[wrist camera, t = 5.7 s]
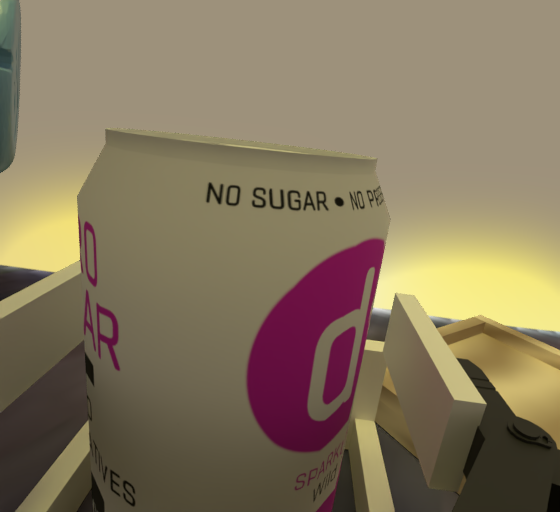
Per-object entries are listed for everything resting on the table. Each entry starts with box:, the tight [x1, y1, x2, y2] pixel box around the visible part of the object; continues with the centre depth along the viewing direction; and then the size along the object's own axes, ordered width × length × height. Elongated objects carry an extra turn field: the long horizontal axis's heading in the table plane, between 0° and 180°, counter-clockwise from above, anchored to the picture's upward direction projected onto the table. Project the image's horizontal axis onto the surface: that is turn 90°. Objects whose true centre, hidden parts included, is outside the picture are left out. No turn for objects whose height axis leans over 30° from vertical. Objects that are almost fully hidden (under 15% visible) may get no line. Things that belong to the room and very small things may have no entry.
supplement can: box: [77, 128, 390, 512], centre depth 12 cm, size 8×8×15 cm
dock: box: [15, 340, 395, 512], centre depth 14 cm, size 14×14×6 cm
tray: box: [375, 315, 560, 495], centre depth 22 cm, size 18×16×2 cm
